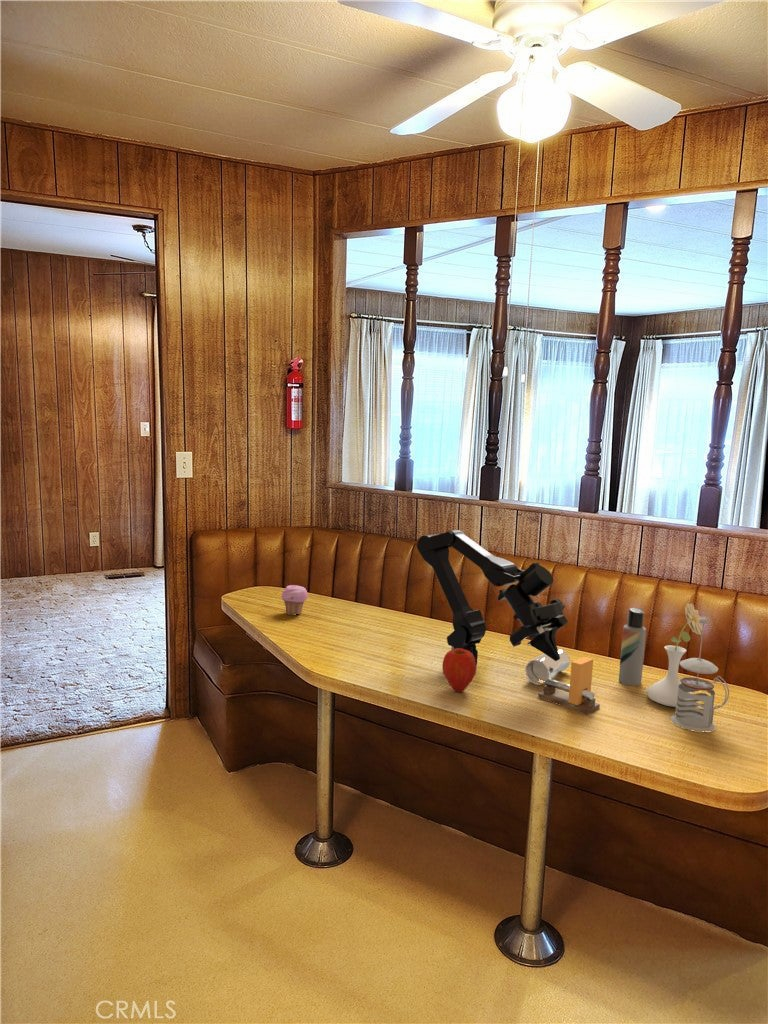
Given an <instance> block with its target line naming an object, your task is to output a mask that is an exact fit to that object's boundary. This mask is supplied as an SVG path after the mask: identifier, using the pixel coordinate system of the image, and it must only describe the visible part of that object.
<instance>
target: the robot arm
mask: <svg viewBox="0 0 768 1024" xmlns="http://www.w3.org/2000/svg"><path fill="white" fill-rule="evenodd" d="M451 547H452V548H453V549H455V550H456V551H457V552H459V553H460V554H461V555H462V556H464V557H465V558H467V559H468V560H469V561H470V562H472V563H473V564H474V565H476V566H477V567H479V569H480V570H481V571H482V574H483V576H484V577H485V578H486V579H487V580H488V581H489V583H490V584H491V585H493V586H495V587H499V588H500V587H503V586H507V588H502V589H499V591H498V595H497V601H503V600H506V602H507V603H508V604H509V606H510V608H511V609H512V611H513V613H514V615H513V616H512V617H513V618H514V620H515V621H516V620H519V622H520V624H521V625H522V626H520V627H519V628H518V629H516V630H515V631H514V632H512V633H510V635H509V642H510V644H511V645H512V647H513V648H515V647H517V646H520V645H521V644H522V641H524V640H525V639H527V638H529V640H530V641H528V642H527V645H528V646H531V647H533V648H535V649H536V650H537V651H539V652H541V653H542V654H546V655H547V656H549V657H550V658H552V659H553V660H555V661H558V660H559V659H560V656H559V652H558V649H559V648H558V645H557V642H556V633H557V631H558V630H560V629H561V628H563V627H564V626H565V625H567V624H568V623H569V620H568V619H567V618H566V616H565V613H564V609H565V608H566V605H565V604H563V602H562V601H561V599H560V598H559V597H558V598H556V599H555V598H554V599H551V600H549V604H546V605H543V604H542V603H541V602H539V601H537V602H535V600H534V599H533V597H538V596H539V594H542V592H543V591H545V590H546V589H547V588H549V587H550V586H551V585H552V584H553V583H554V577H553V575H552V573H551V571H549V570H548V569H547V568H546V567H544V566H542V565H540V563H539V562H537V561H536V562H532V563H531V564H529V566H528V568H526V569H525V570H524V569H521V568H518V566H517V565H516V564H515V563H513V562H511V561H509V560H507V559H506V558H502V557H499V556H496V555H494V554H492V553H490V552H489V551H487V550H486V549H485V548H484V547H482V546H481V545H480V544H478V543H477V542H476V541H474V540H472V539H471V538H470V537H468V536H467V535H466V534H464V532H463V531H462V530H459V529H454V530H453V529H452V530H448V531H446V532H442V533H434V534H433V533H432V534H426V535H425V534H424V535H421V536H420V537H419V538H418V540H417V544H416V549H417V551H418V553H419V554H420V556H421V557H422V559H423V561H425V562H426V563H427V564H428V565H429V566H430V567H432V569H433V571H434V574H435V576H436V578H437V581H438V583H439V585H440V586H441V589H442V592H443V594H444V596H445V598H446V600H447V603H448V606H449V607H450V609H451V611H452V627H453V631H452V632H451V633H450V634H449V635H447V636H446V641H447V645H448V646H451V648H450V650H452V649H455V648H462V649H465V650H468V651H470V652H471V653H472V654H473V656H474V658H475V662H476V669H477V665H478V654H479V651H478V649H477V645H476V644H480V643H481V641H482V639H483V638H484V636H486V632H487V625H486V624H487V622H486V621H485V619H484V617H483V614H482V612H481V610H480V609H475V610H474V609H473V608H472V607H471V606H470V605H469V602H468V599H467V597H466V596H465V593H464V591H463V589H462V586H461V585H460V582H459V579H458V578H457V576H456V574H455V571H454V569H453V567H452V565H451V562H450V560H449V557H450V548H451ZM516 582H517V583H516ZM514 583H516V584H514ZM508 585H509V586H508Z"/></svg>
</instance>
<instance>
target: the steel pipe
mask: <svg viewBox="0 0 768 1024" xmlns="http://www.w3.org/2000/svg"><path fill="white" fill-rule="evenodd" d="M546 685H548V686H551V687H554V688H555V689H557V690H560V691H563V692H565V693H569V688H570V684H568V683H565V682H562V681H559V680H556V679H550V678H547V679H546V683H545V686H546ZM582 697H584V698H587V699H589V700H593V699H594V698H595V693H594V692H592V691H591V692H590V691H587V690H584V689H583V690H582Z"/></svg>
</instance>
